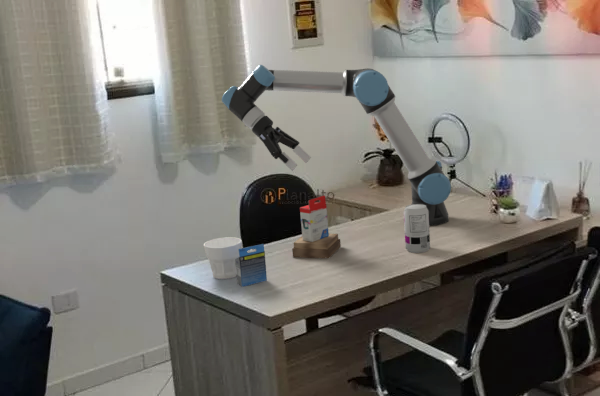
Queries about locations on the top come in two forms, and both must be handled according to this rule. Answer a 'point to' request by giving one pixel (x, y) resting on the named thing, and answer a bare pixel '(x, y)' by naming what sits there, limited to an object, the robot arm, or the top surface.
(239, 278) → the label tape box
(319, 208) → the ink box
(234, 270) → the cup
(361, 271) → the top surface
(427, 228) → the supplement can
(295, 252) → the pedestal
